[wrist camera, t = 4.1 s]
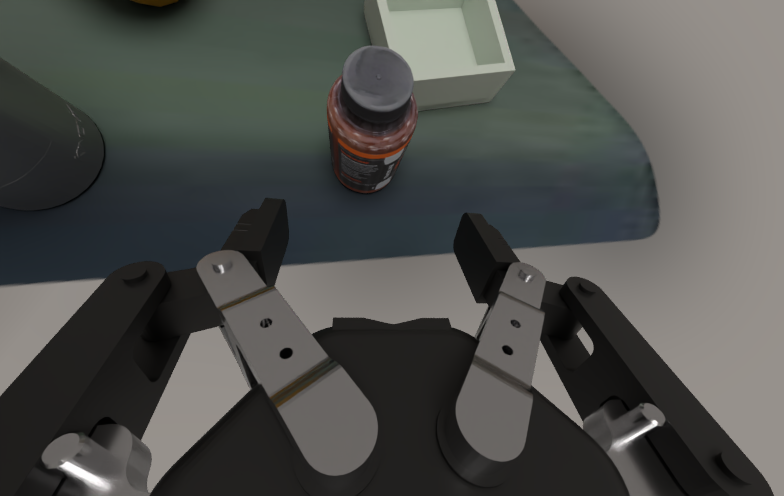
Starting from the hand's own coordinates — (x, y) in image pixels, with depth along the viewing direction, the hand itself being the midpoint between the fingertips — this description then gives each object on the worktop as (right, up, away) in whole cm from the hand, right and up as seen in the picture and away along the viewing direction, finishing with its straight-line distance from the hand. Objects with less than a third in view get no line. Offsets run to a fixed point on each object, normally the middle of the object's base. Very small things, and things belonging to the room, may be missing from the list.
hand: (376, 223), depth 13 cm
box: (+4, +18, +16) cm, 25 cm away
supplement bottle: (-2, +7, +14) cm, 15 cm away
